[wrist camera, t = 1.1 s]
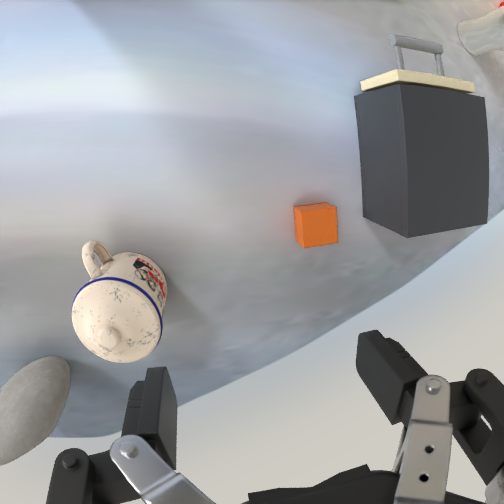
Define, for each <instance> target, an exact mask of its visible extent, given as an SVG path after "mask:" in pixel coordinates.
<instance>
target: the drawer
mask: <svg viewBox="0 0 504 504" xmlns="http://www.w3.org/2000/svg"><path fill="white" fill-rule="evenodd" d="M389 43H390V45H392V46H394V51H395V57H396V62H397V69H395V70H392V71H389V72H386V73H383V74H380V75H377V76H375V77H372V78H369V79H366V80H363V81H361V82H360V83H361V90H362V91H374V90H378V89H381V88H385V87H389V86H393V85H397V84H405V85H414V86H422V87H429V88H436V89H443V90H449V91H455V92H460V93H475V88H474V83H472V82H468V81H464V80H459V79H454V78H449V77H445V76H444V70H443V64H442V59H441V54H442V53H443V47H442V45H440V44H437V43H433V42H429V41H425V40H420V39H416V38H411V37H406V36H400V35H395V34H391V35H390V37H389ZM401 47H402V48H408V49H414V50H419V51H424V52H429V53H433V54H435V60H436V66H437V72H438V75H433V74H428V73H421V72H415V71H408V70H405V69H404V62H403V57H402V51H401Z"/></svg>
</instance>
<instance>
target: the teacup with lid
mask: <svg viewBox="0 0 504 504" xmlns="http://www.w3.org/2000/svg"><path fill="white" fill-rule="evenodd" d="M94 252H96V253H97V255H98V256H99V258H100V259H101V261H102V263H103V265H102V266H101V267H100V268H99V266H98V264H97V262H96V260H95V257H94ZM82 258H83V262H84V265H85V267H86V269H87V271H88V273H89V275H90V277H91V280H90V281H89V282H88V283H87V284H85V285H84V286H83V287H82V288H81V289H80V290H79V291H78V293H77V295H76V296H75V299H74V301H73V305H72V321H73V325H74V328H75V331H76V333H77V335H78V337H79V339H80V340H81V341H82V343H83V344H84V345H85V346H86V347H87V348H88V349H89V350H90V351H91V352H93V353H94V354H96V355H97V356H99V357H101V358H103V359H106V360H109V361H112V362H118V363H128V362H134V361H137V360H140V359H142V358H144V357H146V356H147V355H148V354H150V353H151V352H152V351H153V350H154V349H155V347H156V346H157V345H158V343H159V341H160V338H161V335H162V327H163V325H162V317H163V312H164V307H165V302H166V297H167V283H166V279H165V277H164V274H163V273H162V271H161V269H160V268H159V267H158V266H157V265H156V264H155V263H154V262H153V261H152V260H151V259H149V258H147V257H146V256H143V255H141V254H138V253H132V252H124V253H119V254H116V255H114V256H111V254H110V253H109V251H108V250H107V248H106V247H105V246H104V245H103V244H102V243H101V242H99V241H97V240H92V241H89V242H87V243H86V244H85V245H84V246H83V248H82Z"/></svg>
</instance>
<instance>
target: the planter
mask: <svg viewBox="0 0 504 504" xmlns="http://www.w3.org/2000/svg"><path fill="white" fill-rule="evenodd" d="M70 383H71V372H70V367H69V364H68V363H67V361H66V360H64V359H63V358H61V357H58V356H47V357H43V358H40V359H37V360H35V361H33V362H31V363H29V364H28V365H26V366H25V367H23V368H22V369H20V370H19V371H18V372H17V373H16V374H14V375H13V376H12V377H11V378H10V379H9V380H8V381H7V382H6V383H5V385H4V386H3V387H2V388H1V390H0V465H4V464H7V463H9V462H11V461H13V460H15V459H17V458H19V457H20V456H22V455H24V454H25V453H27V452H29V451H30V450H32V449H33V448H35V447H36V446H37V445H39V444H40V443H41V442H43V441H44V440H45V439H46V438H47V437H48V436H49V435H50V434H51V433H52V432H53V431H54V429H55V427H56V425H57V423H58V421H59V418H60V416H61V413H62V411H63V408H64V406H65V403H66V401H67V397H68V394H69V390H70Z"/></svg>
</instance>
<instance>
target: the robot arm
mask: <svg viewBox="0 0 504 504" xmlns="http://www.w3.org/2000/svg"><path fill="white" fill-rule="evenodd" d="M356 368H357V371H358V374H359V376H360V377H361V379H362V380H363V382H364V383H365V385H366V386H367V388H368V389H369V391H370V392H371V394H372V395H373V397H374V398H375V400H376V401H377V403H378V404H379V406H380V407H381V409H382V410H383V412H384V413H385V415H386V416H387V418H388V420H389V421H390V422H391V424H392V425H394V424H397V423H399V422H402V423H403V424H404V427H403V430H402V434H401V439H400V443H399V447H398V451H397V455H396V459H395V463H394V466H393V469H392V471H383V470H375V471H374V470H373V471H370V469H369V467H368V466H367V464H366V465H362V466H360V467H356V468H353V469H350V470H347V471H344V472H341V473H338V474H336V475H335V476H333V477H331V478H329V479H327V480H325V481H323V482H321V483H319V484H318V485H315V486H313V487H307V488H276V489H271V490H266V491H260V492H253V493H248V497H249V501H247V502H244V503H242V504H504V385H503V384H502V383H501V382H500V381H499V380H498V379H497V378H496V377H495V376H494V375H493V374H492V373H491V372H490V371H488V370H485V369H473V370H471V371H470V372H469V373H468V374H467V377H466V379H465V381H458V382H451V383H448V381H446V379H444V378H443V377H441V376H438V375H428V374H427V373H426V371H425V370H424V369H423V368H422V367H421V366H420V365H419V364H418V363H417V362H416V361H415V360H414V359H413V357H411V356H410V354H409V353H408V352H407V351H405V349H404V348H403V347H402V346H401V345H400V344H399V342H396V341H394V340H393V339H391V338H386V339H385V338H384V337H383V336H382V334H381V333H380V332H379V331H378V330H372V331H368V332H364V333H360V334H359V336H358V346H357V357H356ZM481 415H483V416H484V418H485V419H486V420H487V421H488V423H489V424H490V426H491V428H492V431H491V430H490V429H489V428H488V426H487V425H486V423H485V422H484V421H483V420H482V419H481ZM176 434H177V400H176V395H175V392H174V389H173V386H172V383H171V379H170V376H169V373H168V370H167V368H166V367H155V368H148V369H147V373H146V378H145V381H137V382H136V383H135V385H134V386H133V387H132V389H131V390H130V395H129V401H128V404H127V409H126V414H125V419H124V424H123V430H122V435H121V437H120V438H118V439H116V440H115V441H114V442H113V444H112V445H111V447H110V450H108V451H105V452H102V453H98V454H94V455H89V456H88V455H87V454H86V453H85V452H84V451H83V450H80V449H78V448H71V449H67V450H64V451H63V452H61V453H60V454H59V455H58V457H57V458H56V460H55V464H54V468H53V472H52V477H51V482H50V486H49V491H48V496H47V501H46V504H120V503H124V502H128V501H132V500H136V499H140V498H141V499H142V500H143V501H144V502H145V504H216V503H214V502H213V501H212V500H211V499H210V498H208V497H207V496H206V495H205V494H204V493H203V492H201V491H200V490H199V489H198V488H197V487H196V486H195V485H194V484H193V483H191V482H190V481H189V480H188V479H187V478H186V477H185V476H184V475H182V474H181V473H176V472H175V471H174V470H176V436H177V435H176ZM452 434H453V436H454V437H455V439H456V440H457V442H458V443H459V445H460V446H461V448H462V449H463V451H464V452H465V454H466V455H467V457H468V458H469V459H470V461H471V463H472V464H473V466H474V467H475V469H476V470H477V471H478V473H479V475H480V476H481V478H482V479H483V481H484V483H485V484H486V486H487V487H486V491H485V496H486V501H485V503H483V502H480V501H476V500H473V499H469V498H466V497H463V496H460V495H457V494H454V493H451V492H447V491H446V485H447V478H448V471H449V463H450V454H451V444H452Z"/></svg>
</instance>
